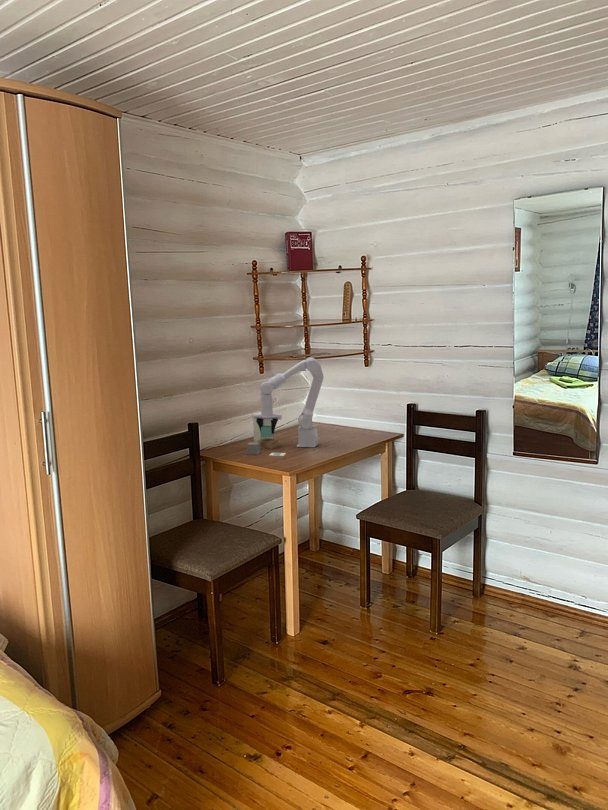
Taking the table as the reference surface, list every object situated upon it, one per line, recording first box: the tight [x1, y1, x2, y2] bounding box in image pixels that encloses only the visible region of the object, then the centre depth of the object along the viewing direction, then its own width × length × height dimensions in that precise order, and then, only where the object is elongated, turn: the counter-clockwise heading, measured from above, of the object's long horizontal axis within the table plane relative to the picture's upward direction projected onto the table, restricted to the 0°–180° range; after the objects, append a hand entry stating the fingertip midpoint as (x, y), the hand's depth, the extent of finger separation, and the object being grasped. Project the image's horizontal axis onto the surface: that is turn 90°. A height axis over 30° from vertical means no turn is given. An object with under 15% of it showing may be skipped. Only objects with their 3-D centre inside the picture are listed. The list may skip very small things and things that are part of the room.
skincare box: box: [252, 412, 273, 442], centre depth 340 cm, size 8×6×15 cm
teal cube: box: [261, 425, 275, 438], centre depth 327 cm, size 5×5×5 cm
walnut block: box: [257, 437, 279, 450], centre depth 328 cm, size 8×8×4 cm
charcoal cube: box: [246, 441, 261, 456], centre depth 315 cm, size 5×5×5 cm
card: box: [268, 452, 287, 457], centre depth 311 cm, size 7×5×1 cm
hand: (267, 433), depth 327 cm, fingers closed on teal cube, 5 cm apart
